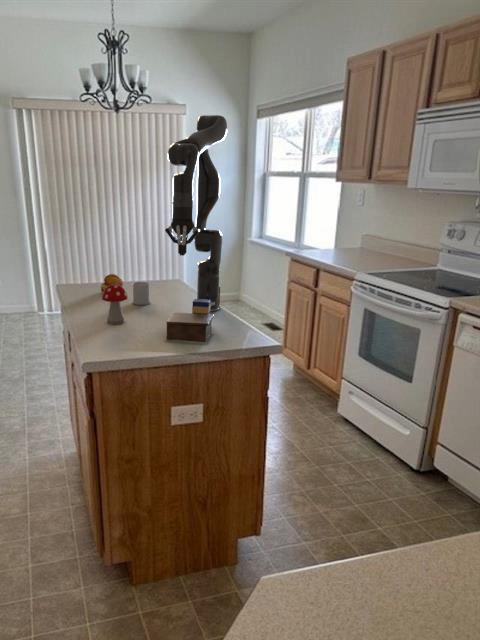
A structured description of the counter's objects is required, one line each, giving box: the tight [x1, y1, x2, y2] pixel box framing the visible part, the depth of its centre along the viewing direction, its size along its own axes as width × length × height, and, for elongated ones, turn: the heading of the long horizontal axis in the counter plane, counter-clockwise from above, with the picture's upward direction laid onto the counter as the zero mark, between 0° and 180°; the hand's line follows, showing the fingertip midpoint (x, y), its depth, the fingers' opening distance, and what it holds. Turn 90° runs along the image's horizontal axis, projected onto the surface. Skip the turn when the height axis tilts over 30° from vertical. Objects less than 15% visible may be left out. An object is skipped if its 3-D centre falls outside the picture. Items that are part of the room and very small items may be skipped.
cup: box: [132, 281, 150, 306], centre depth 238 cm, size 7×10×9 cm
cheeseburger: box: [99, 273, 124, 293], centre depth 256 cm, size 10×11×10 cm
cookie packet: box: [191, 298, 211, 314], centre depth 200 cm, size 6×5×11 cm
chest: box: [166, 319, 213, 343], centre depth 190 cm, size 14×13×6 cm
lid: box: [166, 312, 215, 326], centre depth 189 cm, size 15×13×1 cm
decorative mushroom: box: [101, 284, 129, 325], centre depth 206 cm, size 10×9×15 cm
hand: (182, 255), depth 195 cm, fingers closed
